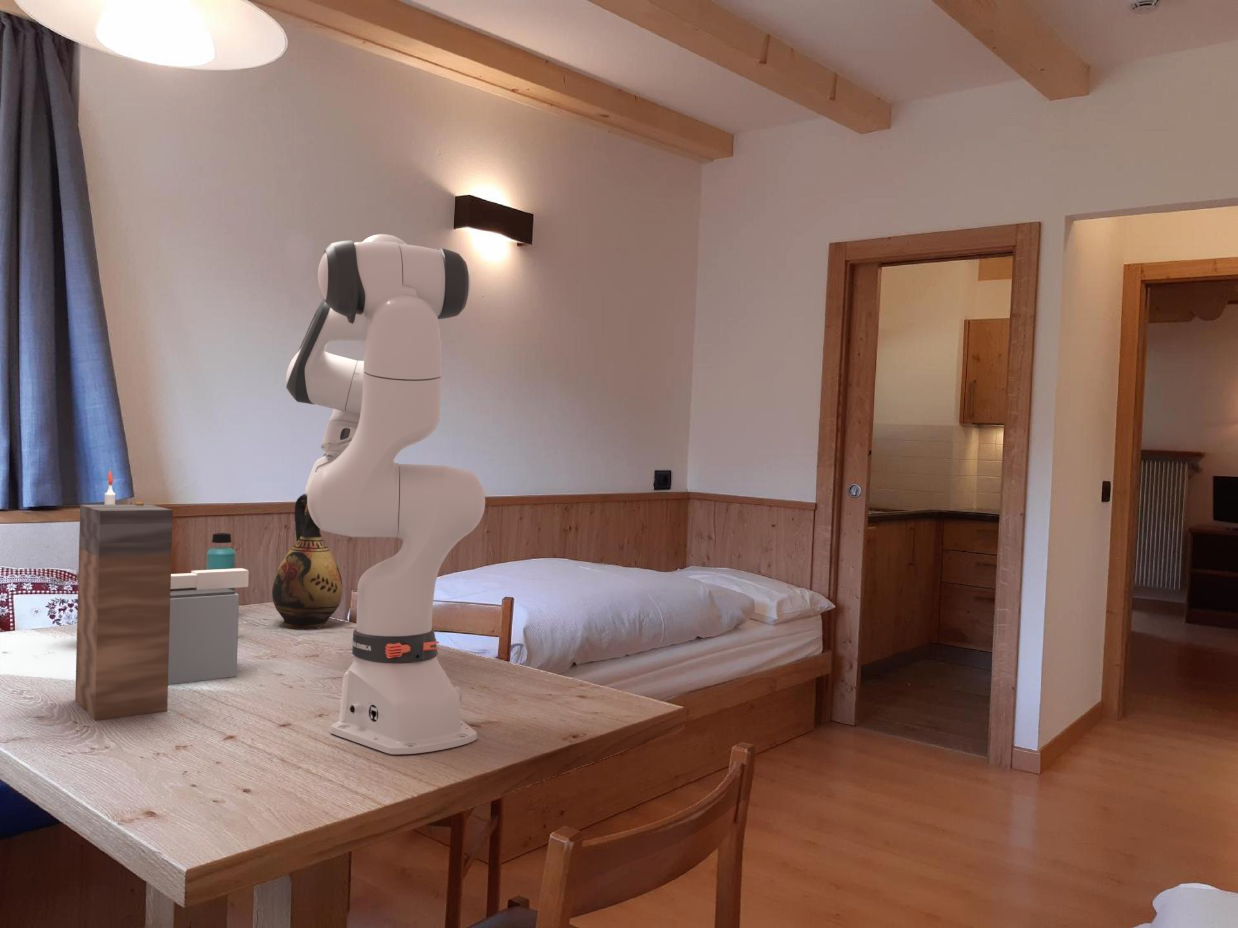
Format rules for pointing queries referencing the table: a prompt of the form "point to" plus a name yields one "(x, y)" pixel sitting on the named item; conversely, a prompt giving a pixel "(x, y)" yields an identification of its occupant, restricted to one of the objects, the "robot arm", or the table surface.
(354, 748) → the table surface
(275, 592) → the ceramic jug
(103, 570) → the stand
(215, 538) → the beverage bottle
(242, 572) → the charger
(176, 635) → the shelf
